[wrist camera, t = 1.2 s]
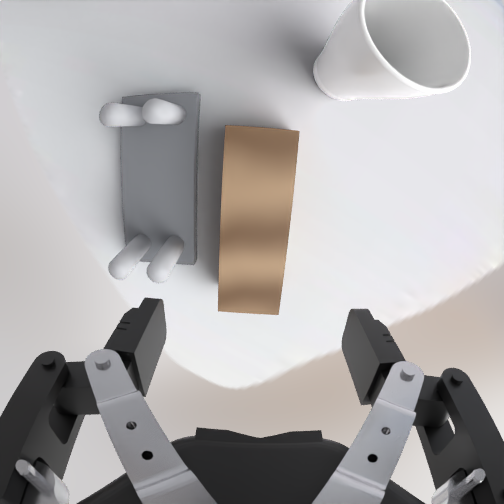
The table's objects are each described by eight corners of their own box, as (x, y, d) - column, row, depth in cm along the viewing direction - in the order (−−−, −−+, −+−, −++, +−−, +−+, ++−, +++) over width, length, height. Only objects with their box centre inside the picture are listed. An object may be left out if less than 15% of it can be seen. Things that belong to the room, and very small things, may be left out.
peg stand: (128, 98, 24) (90, 91, 17) (200, 94, 24) (181, 81, 17) (132, 254, 30) (103, 289, 23) (196, 258, 30) (181, 297, 23)
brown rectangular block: (230, 126, 25) (225, 125, 21) (291, 131, 26) (299, 130, 21) (222, 284, 32) (218, 311, 27) (274, 288, 32) (278, 314, 27)
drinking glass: (288, 69, 23) (326, 7, 9) (339, 30, 21) (410, -40, 7) (339, 123, 25) (424, 121, 11) (386, 82, 23) (490, 59, 9)
